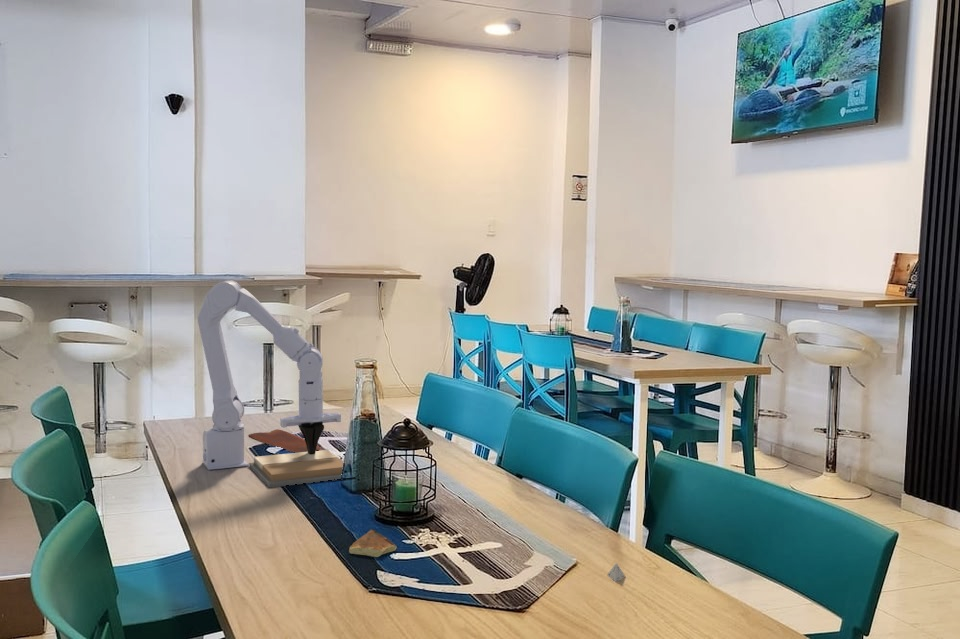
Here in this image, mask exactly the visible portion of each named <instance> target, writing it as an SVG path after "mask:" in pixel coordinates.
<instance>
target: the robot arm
mask: <svg viewBox="0 0 960 639" xmlns="http://www.w3.org/2000/svg"><path fill="white" fill-rule="evenodd" d="M235 306H236V307H235ZM234 307H235V308H234ZM232 308H234V311H238V312H241V313H247V314H249V315H250V316H251V317H252V318H253V319H254V320H255V321H256V322H258V323H259V324H260V325H261V326H262V327H264V329H265V330H266V331H268V332H269V333H270V334H272V336H273V338H272V339H273V344H274V345H275V346H276V347H277V348H278V349H279V350H280V351H282V352H283V354H285V355H286V356H287V357H288V358H289V359H290V360H291V361H292V362H296V367H297V368H298V372H299V379H298V415H293V416H287V417H281V418H280V426H279V427H281V428H287V427H295V426H297V427H298V429H299V430H300V432H301V434H302V436H303V439H305V442H306V446H307V451H308V453H309V454H315V452H316V447H317V446H318V443H319V440H320V438H321V435H322V433H323V432H324V430H325V425H324V424H327V423H341V422H342V415H341V413H339V412H335V413H333V412H332V413H324V410H323V409H324V400H323V398H324V396H323V395H324V394H323V393H324V392H323V391H324V390H323V388H324V387H323V386H324V385H323V378H322V377H323V372H322V368H323V362H324V360H323V359H324V358H323V355H322V353H321V352H320V349H319V348H317V347H315V346H314V344H313V343H312V342H308V340H306V339H305V338H304V337H303V336H302V335H301V334H300V329H298V328H297V327H293V326H292V325H283V324H282V323H281V322H280V321H279V320H278V319H276V317H275V316H274V315H273V314H272V313H271V311H269V310H268V309H267V308H266V307H265V306H264V305H263V304H262V302H260V301H259V300H258V298H256V297H255V296H254V295H253V294H252V293H251V292H250V291H248V290H247V289H246V288H244V287H242V286H241V285H240V284H239V283H238V282H237V281H235V280H231V279H227V280H224V281H221V282H218V283H216V284H215V285H213V286H212V287H211V288H210V289H209V290H208V292H207V293H206V294H205V298H204V300H203V303H202V306H201V308H200V310H199V313H198V316H197V323H198V328H199V332H200V337H201V343H202V346H203V351H204V356H205V360H206V365H207V370H208V374H209V379H210V383H211V388H212V404H213V410H212V414H211V419H212V421H213V422H212V423H213V425H212V428H211V429H204V431H203V433H202V464H203V465H204V466H205V467H206V468H207V470H208V471H211V470H221V469H230V468H240V467H249V463H250V462H249V463H248V461H247V460H246V459H245V424H244V423H243V421H242V420H241V419H242V417H244V413H245V405H244V402H242V401H241V399H240V398H239V396H238V392H237V389H236V387H235V385H234V381H233V377H232V372H231V366H230V363H229V362H230V361H229V357H228V353H227V349H226V344H225V340H224V335H223V331H222V326H221V321H222V320H223V318H224V317H225V316H226V314H227V313H228V312H229V311H230V310H231V309H232Z"/></svg>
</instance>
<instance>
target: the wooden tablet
mask: <svg viewBox="0 0 960 639" xmlns="http://www.w3.org/2000/svg"><path fill="white" fill-rule="evenodd" d="M248 437H249V438H252V439H254V440H256V441H258V442H259V443H260V442H261V443H263V444H265V443H266V444H265V445H268V444H270V445H269V446H271V445H273V446H272V447H274V446H277V447H281V448H283V449H286V450H288V451H291V452H295V453H299V452H308V451H307V446H306V442H305V439H304V437H303V438H302V437H300V436H298V435H296V434H294V433H291V432H288V431H286V430H283V429H279V428H278V429H273V430H271V431H270V432H269V431H268V432H253V433H250V434H248ZM319 449H323V447H321V446H320V447H319V445H317V447H316V450H319ZM288 451H287V452H288ZM291 452H290V453H291Z"/></svg>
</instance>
